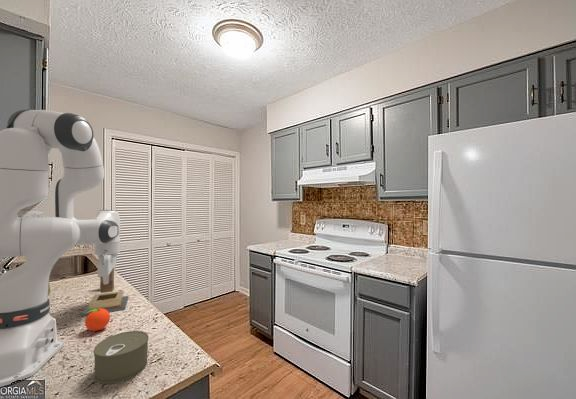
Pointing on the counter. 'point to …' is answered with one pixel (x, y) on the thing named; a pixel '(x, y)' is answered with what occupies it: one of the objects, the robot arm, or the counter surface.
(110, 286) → the peg
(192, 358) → the counter surface
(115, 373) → the can
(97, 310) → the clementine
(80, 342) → the counter surface
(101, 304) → the collar
